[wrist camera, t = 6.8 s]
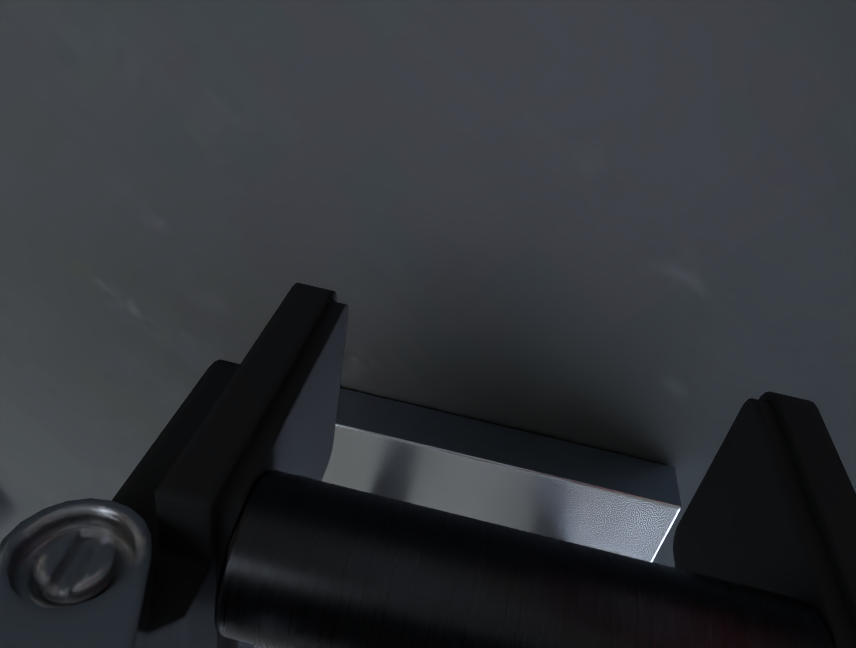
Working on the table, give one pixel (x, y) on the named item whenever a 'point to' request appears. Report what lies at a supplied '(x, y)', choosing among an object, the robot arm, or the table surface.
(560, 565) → the lever
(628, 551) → the bracket
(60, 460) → the table surface
